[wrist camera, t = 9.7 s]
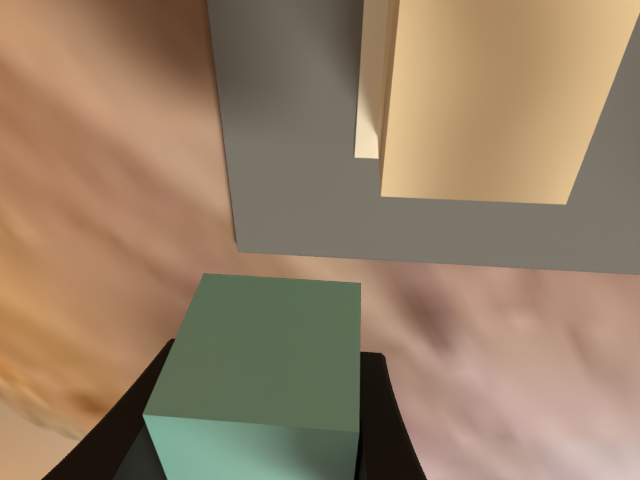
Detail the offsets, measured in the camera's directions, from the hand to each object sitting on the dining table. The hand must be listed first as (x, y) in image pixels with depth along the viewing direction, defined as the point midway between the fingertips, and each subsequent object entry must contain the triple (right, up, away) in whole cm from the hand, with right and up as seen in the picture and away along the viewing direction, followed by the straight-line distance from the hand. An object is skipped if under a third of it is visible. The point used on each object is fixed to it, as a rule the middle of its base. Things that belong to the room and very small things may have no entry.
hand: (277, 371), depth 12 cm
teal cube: (0, +1, +1) cm, 1 cm away
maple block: (+6, +9, +3) cm, 11 cm away
